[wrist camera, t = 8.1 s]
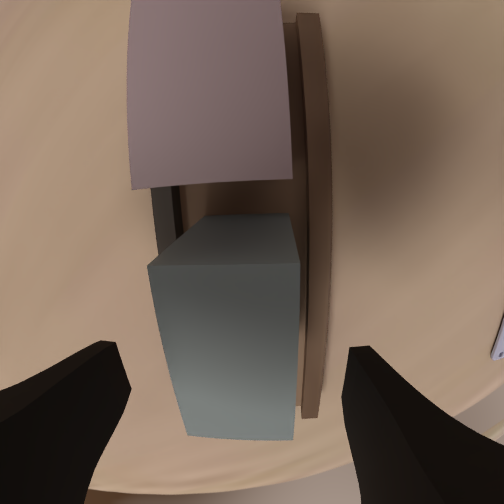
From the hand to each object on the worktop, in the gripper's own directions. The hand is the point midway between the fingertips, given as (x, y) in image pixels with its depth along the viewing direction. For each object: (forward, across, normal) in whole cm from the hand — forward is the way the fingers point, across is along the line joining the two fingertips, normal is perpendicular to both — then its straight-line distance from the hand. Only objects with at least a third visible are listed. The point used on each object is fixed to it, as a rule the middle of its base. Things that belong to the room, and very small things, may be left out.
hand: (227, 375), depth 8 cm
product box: (+7, 0, 0) cm, 7 cm away
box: (+7, 0, -9) cm, 12 cm away
